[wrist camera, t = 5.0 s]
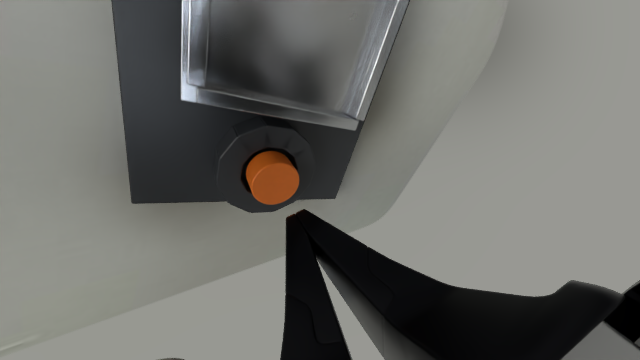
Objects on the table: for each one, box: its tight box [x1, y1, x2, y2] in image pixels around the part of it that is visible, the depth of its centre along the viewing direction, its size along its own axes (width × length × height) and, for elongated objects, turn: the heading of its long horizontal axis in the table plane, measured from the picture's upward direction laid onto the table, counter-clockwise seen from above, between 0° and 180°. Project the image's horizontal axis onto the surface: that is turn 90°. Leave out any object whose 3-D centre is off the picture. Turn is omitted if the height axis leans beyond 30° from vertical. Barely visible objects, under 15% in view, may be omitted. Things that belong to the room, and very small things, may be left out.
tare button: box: [246, 151, 299, 205], centre depth 12 cm, size 3×3×2 cm
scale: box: [111, 0, 410, 213], centre depth 12 cm, size 15×13×3 cm
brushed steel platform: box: [180, 0, 409, 131], centre depth 9 cm, size 9×9×1 cm
